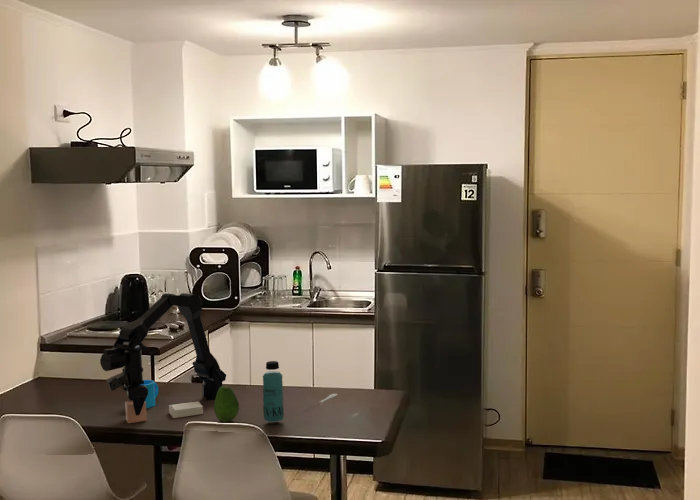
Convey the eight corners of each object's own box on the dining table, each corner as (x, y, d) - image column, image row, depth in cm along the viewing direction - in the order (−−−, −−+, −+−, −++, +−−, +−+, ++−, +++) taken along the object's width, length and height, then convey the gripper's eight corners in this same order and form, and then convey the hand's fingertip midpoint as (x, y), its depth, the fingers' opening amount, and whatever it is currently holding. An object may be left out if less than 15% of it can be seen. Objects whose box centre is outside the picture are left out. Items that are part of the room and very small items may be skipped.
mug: (144, 410, 274) (143, 386, 274) (126, 407, 278) (125, 384, 277) (167, 400, 285) (166, 378, 284) (149, 398, 289) (148, 376, 288)
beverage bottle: (263, 420, 258) (261, 359, 256) (284, 419, 259) (282, 358, 257) (263, 427, 252) (261, 364, 250) (284, 425, 252) (282, 363, 250)
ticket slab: (198, 408, 274) (198, 401, 274) (203, 413, 268) (202, 406, 268) (169, 412, 270) (168, 405, 270) (173, 418, 264) (172, 410, 264)
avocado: (212, 425, 255) (210, 388, 253) (217, 418, 262) (215, 382, 261) (237, 425, 254) (235, 388, 253) (241, 417, 262) (240, 381, 261)
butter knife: (339, 394, 287) (332, 393, 288) (306, 412, 266) (298, 411, 267) (339, 395, 287) (332, 394, 288) (306, 413, 266) (299, 412, 267)
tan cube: (144, 416, 266) (143, 398, 266) (147, 420, 262) (146, 402, 261) (125, 419, 264) (124, 401, 263) (128, 423, 259) (127, 405, 259)
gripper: (104, 362, 266) (106, 407, 268) (110, 374, 249) (113, 422, 251) (138, 358, 271) (140, 403, 272) (147, 369, 254) (149, 417, 255)
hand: (135, 411), depth 262 cm, fingers open, 9 cm apart
